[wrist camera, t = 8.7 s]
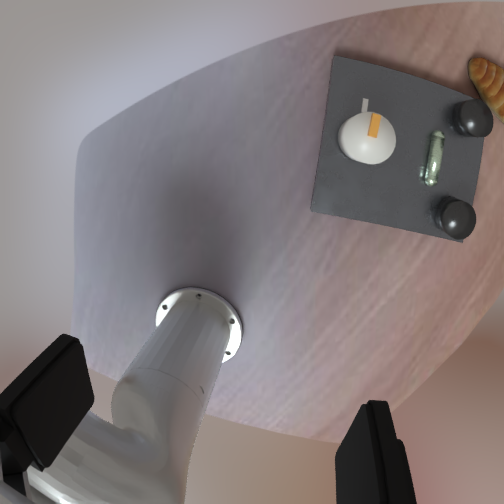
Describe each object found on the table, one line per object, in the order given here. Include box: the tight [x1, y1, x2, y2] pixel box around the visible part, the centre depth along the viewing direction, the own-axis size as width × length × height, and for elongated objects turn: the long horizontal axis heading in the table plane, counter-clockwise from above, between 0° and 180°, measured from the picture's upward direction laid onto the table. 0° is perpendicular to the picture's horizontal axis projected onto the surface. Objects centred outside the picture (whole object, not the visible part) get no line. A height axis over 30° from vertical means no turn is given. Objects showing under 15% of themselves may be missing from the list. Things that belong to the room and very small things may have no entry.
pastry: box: [468, 58, 504, 124], centre depth 26 cm, size 9×7×4 cm
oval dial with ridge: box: [338, 112, 396, 164], centre depth 29 cm, size 5×5×6 cm
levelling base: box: [310, 55, 493, 243], centre depth 31 cm, size 18×20×5 cm
